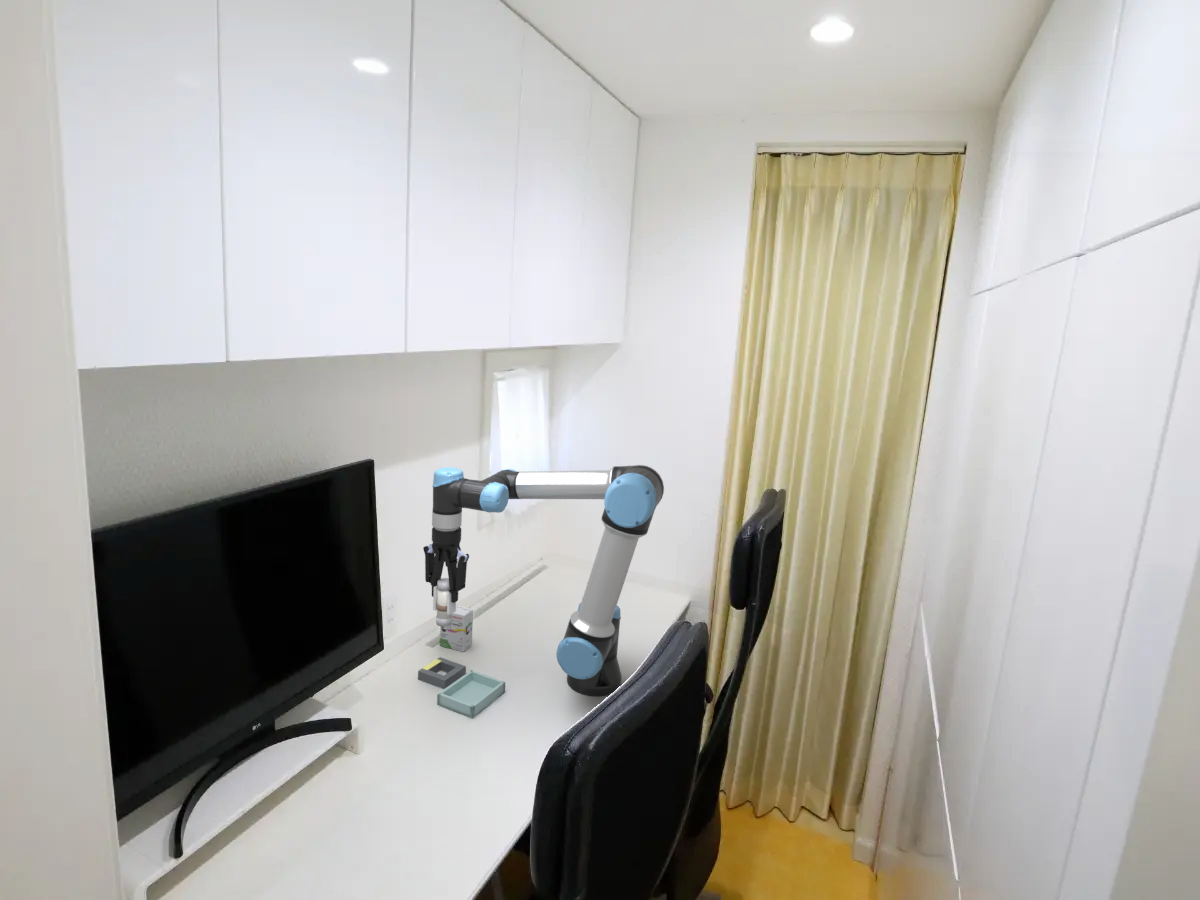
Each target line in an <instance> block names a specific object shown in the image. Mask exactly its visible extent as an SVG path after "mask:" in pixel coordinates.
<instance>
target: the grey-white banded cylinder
mask: <svg viewBox="0 0 1200 900" xmlns="http://www.w3.org/2000/svg"><path fill="white" fill-rule="evenodd" d="M437 589H438V594H437V610H436V619H435V620H436V625H437V626H438V627H440V626H442V627H445V626H449V625H451V624H452V615H451V614H450V615H448V614H447V594H448V590H450V584H449V577H447V578H446V577H444V578H442V577H441V579H439V580H438V581H437Z"/></svg>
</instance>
